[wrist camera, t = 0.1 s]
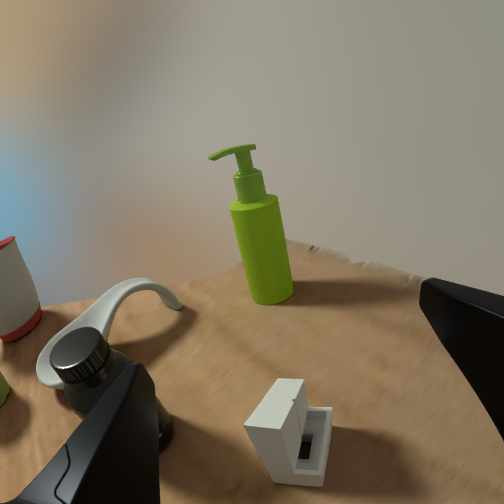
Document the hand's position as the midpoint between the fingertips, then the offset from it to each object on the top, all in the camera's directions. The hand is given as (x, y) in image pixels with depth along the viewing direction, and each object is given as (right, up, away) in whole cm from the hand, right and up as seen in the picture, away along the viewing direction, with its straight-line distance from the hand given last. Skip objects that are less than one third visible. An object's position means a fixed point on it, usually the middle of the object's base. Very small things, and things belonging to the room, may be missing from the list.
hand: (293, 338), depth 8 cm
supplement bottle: (-11, -15, +14) cm, 23 cm away
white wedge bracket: (+3, -13, +10) cm, 17 cm away
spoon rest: (-20, -11, +27) cm, 36 cm away
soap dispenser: (+1, -3, +32) cm, 32 cm away
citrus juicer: (-49, -13, +36) cm, 62 cm away
